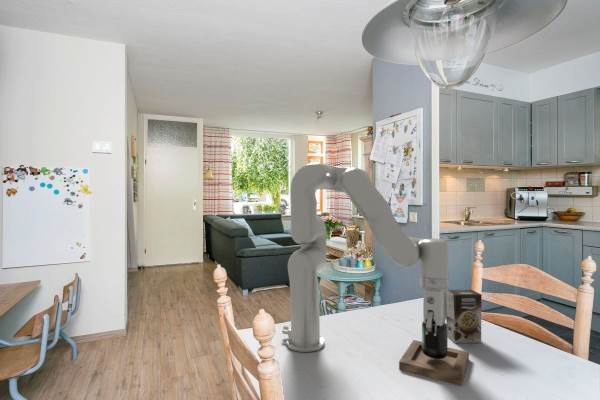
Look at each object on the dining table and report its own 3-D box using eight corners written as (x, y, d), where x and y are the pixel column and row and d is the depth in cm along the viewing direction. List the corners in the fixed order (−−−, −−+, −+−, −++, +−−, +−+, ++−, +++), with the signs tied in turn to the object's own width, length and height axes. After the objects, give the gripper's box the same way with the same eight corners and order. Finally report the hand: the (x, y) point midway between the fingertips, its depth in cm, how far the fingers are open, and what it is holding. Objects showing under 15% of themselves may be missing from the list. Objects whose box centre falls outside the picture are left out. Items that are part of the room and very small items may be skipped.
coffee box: (455, 344, 110) (454, 295, 110) (445, 335, 117) (445, 289, 116) (482, 343, 110) (482, 294, 110) (471, 335, 117) (471, 288, 116)
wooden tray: (399, 369, 95) (399, 361, 95) (413, 346, 109) (413, 339, 109) (461, 385, 87) (461, 377, 87) (468, 359, 100) (468, 351, 100)
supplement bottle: (419, 355, 97) (418, 313, 96) (425, 346, 102) (425, 307, 102) (444, 362, 93) (444, 318, 92) (449, 352, 98) (449, 311, 98)
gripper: (442, 291, 88) (443, 359, 88) (453, 277, 102) (453, 335, 103) (413, 287, 92) (413, 352, 92) (427, 274, 106) (427, 330, 107)
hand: (434, 342), depth 97 cm, fingers closed on supplement bottle, 6 cm apart
